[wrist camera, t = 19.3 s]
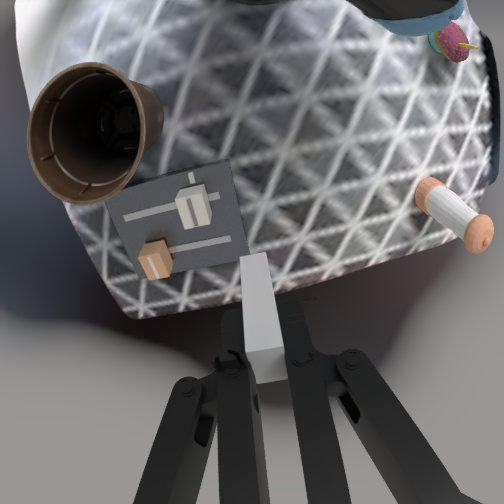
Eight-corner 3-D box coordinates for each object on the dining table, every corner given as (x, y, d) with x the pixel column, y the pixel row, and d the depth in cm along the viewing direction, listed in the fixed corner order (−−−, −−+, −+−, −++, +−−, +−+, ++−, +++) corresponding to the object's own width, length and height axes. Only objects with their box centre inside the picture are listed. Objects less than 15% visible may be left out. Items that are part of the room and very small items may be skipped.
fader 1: (143, 244, 45) (137, 258, 42) (164, 239, 45) (158, 253, 41) (153, 266, 48) (148, 281, 44) (173, 262, 48) (169, 277, 44)
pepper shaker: (412, 184, 44) (476, 234, 28) (437, 172, 43) (503, 216, 27) (416, 214, 48) (473, 269, 32) (441, 201, 47) (499, 250, 31)
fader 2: (179, 189, 40) (174, 200, 37) (204, 183, 40) (201, 193, 37) (188, 217, 43) (184, 230, 39) (212, 212, 43) (210, 225, 39)
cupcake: (446, 69, 31) (490, 75, 21) (415, 42, 29) (460, 40, 19) (455, 40, 27) (498, 42, 17) (426, 13, 25) (468, 7, 15)
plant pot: (76, 91, 31) (14, 102, 17) (166, 55, 30) (128, 37, 17) (100, 176, 40) (51, 219, 26) (186, 151, 39) (162, 185, 26)
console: (107, 191, 42) (102, 196, 40) (228, 158, 41) (228, 161, 39) (142, 272, 52) (139, 279, 50) (249, 252, 51) (250, 259, 49)
